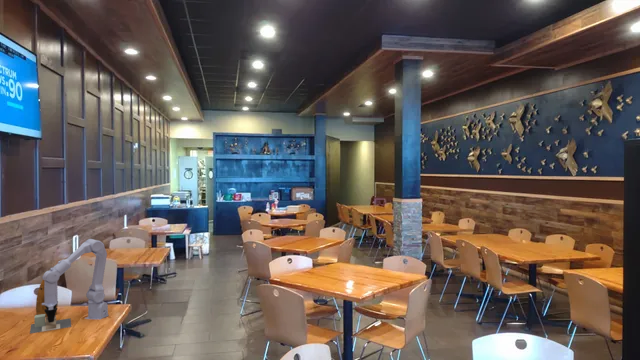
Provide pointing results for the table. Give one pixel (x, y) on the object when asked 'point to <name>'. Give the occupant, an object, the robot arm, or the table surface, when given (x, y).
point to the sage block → (39, 320)
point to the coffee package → (41, 300)
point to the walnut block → (50, 324)
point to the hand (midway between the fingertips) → (51, 319)
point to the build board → (59, 324)
